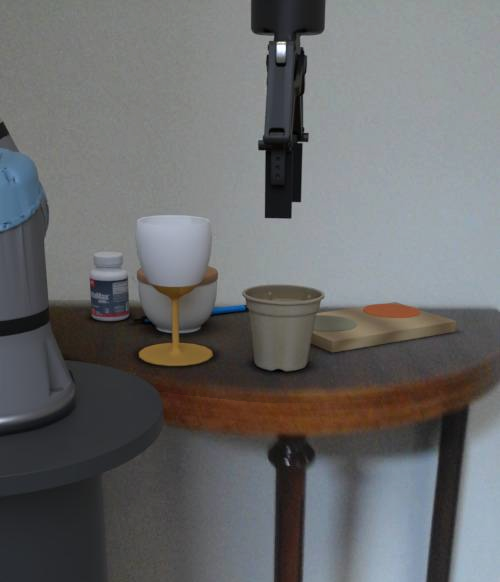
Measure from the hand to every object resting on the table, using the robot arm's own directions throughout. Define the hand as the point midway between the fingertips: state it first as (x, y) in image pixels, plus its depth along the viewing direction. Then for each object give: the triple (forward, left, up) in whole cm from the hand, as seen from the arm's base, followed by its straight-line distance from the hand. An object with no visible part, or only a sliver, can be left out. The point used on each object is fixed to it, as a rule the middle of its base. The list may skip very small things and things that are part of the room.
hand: (284, 209), depth 91 cm
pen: (+2, +25, -18) cm, 31 cm away
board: (+19, +7, -18) cm, 27 cm away
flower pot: (0, 0, -18) cm, 18 cm away
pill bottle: (-9, +30, -18) cm, 36 cm away
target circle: (+25, +10, -16) cm, 32 cm away
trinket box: (-3, +20, -18) cm, 27 cm away
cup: (-9, +9, -18) cm, 22 cm away
